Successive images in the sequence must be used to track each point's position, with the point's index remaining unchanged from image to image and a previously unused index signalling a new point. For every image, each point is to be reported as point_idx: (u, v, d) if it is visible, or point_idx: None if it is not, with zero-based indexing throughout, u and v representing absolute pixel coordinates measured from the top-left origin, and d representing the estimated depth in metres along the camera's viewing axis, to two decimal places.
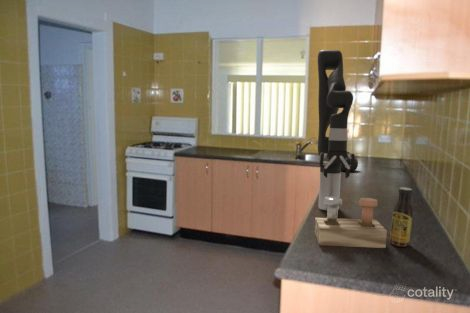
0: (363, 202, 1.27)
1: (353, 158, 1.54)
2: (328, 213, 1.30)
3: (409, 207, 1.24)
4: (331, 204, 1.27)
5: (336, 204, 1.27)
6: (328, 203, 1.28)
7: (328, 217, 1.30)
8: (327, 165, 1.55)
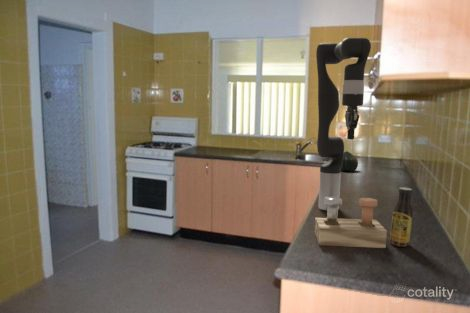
0: (363, 202, 1.27)
1: None
2: (328, 213, 1.30)
3: (409, 207, 1.24)
4: (331, 204, 1.27)
5: (336, 204, 1.27)
6: (328, 203, 1.28)
7: (328, 217, 1.30)
8: None
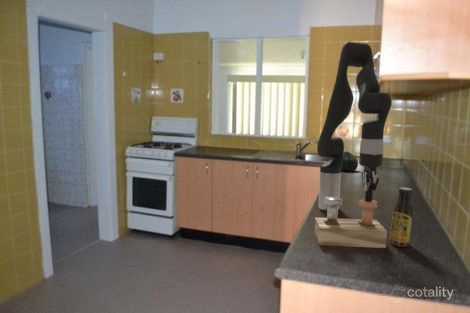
0: (363, 203, 1.27)
1: None
2: (328, 213, 1.30)
3: (409, 207, 1.24)
4: (331, 204, 1.27)
5: (336, 204, 1.27)
6: (328, 203, 1.28)
7: (328, 217, 1.30)
8: None
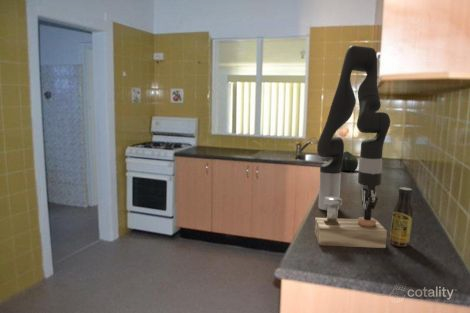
0: (362, 222, 1.28)
1: None
2: (328, 213, 1.30)
3: (409, 207, 1.24)
4: (331, 204, 1.27)
5: (336, 204, 1.27)
6: (328, 203, 1.28)
7: (328, 217, 1.30)
8: None
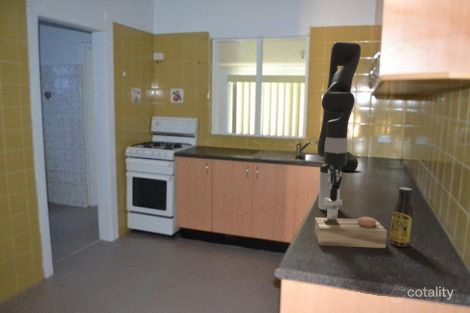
0: (362, 222, 1.28)
1: None
2: (328, 214, 1.30)
3: (409, 207, 1.24)
4: (331, 205, 1.27)
5: (336, 205, 1.27)
6: (328, 204, 1.28)
7: (328, 218, 1.30)
8: None
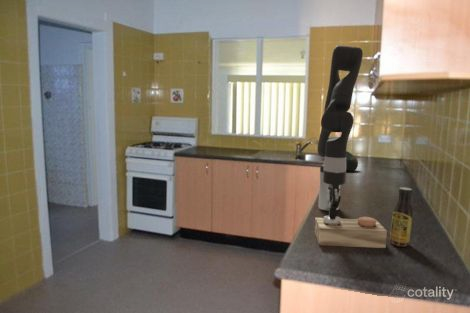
0: (362, 222, 1.28)
1: None
2: None
3: (409, 207, 1.24)
4: (330, 224, 1.28)
5: (335, 224, 1.28)
6: (327, 222, 1.29)
7: None
8: None
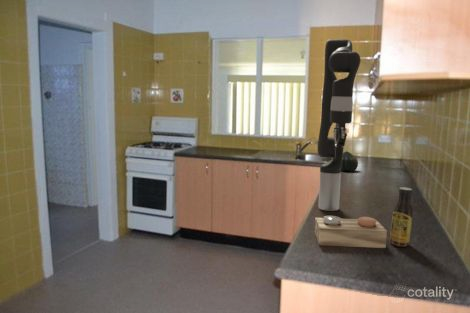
0: (362, 222, 1.28)
1: None
2: None
3: (409, 207, 1.24)
4: (330, 224, 1.28)
5: (335, 224, 1.28)
6: (327, 223, 1.29)
7: None
8: (343, 142, 1.34)
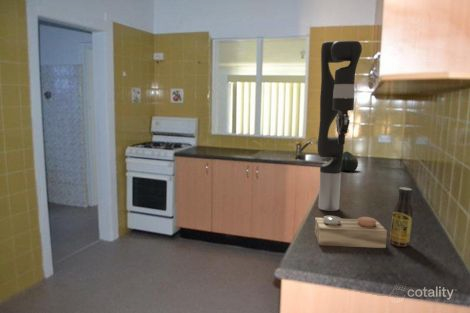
0: (362, 222, 1.28)
1: None
2: None
3: (409, 207, 1.24)
4: (330, 224, 1.28)
5: (335, 224, 1.28)
6: (327, 223, 1.29)
7: None
8: None
